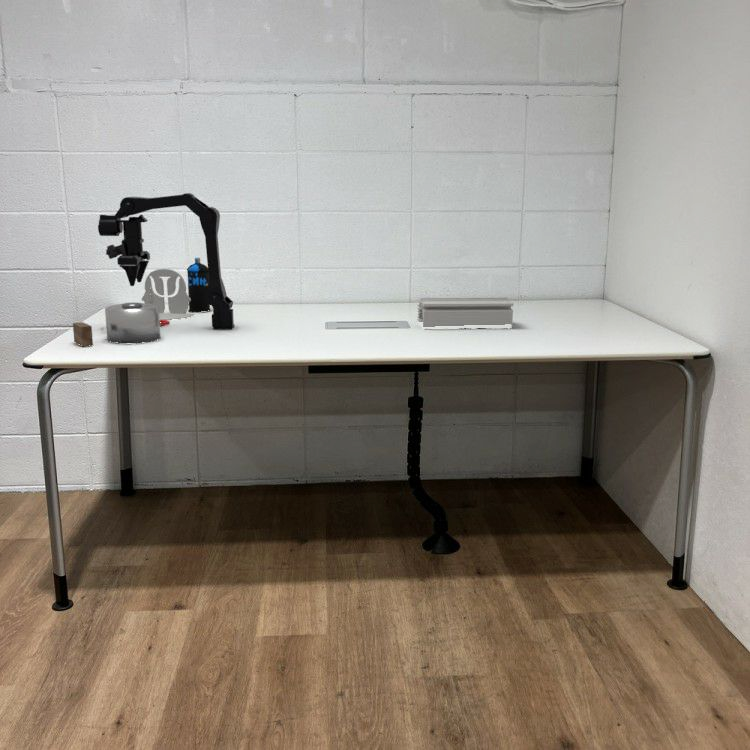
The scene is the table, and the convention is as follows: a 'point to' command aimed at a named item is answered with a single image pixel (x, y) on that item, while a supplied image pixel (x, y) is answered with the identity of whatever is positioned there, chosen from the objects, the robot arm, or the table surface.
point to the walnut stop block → (82, 334)
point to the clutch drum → (132, 322)
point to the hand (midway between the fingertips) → (135, 284)
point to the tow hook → (163, 322)
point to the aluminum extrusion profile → (464, 311)
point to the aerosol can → (197, 286)
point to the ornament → (175, 303)
